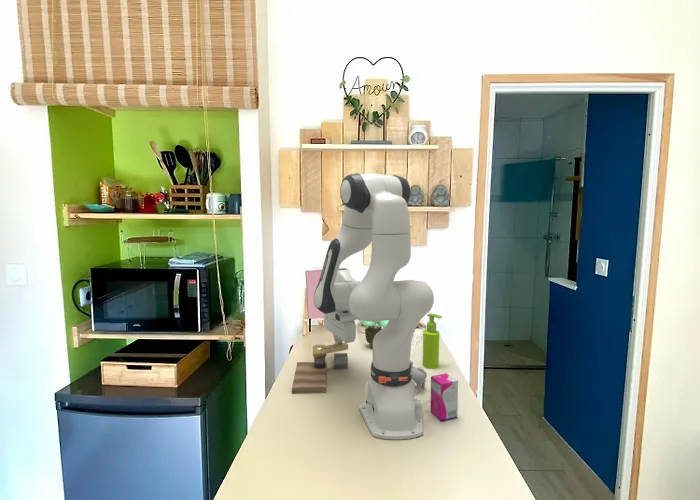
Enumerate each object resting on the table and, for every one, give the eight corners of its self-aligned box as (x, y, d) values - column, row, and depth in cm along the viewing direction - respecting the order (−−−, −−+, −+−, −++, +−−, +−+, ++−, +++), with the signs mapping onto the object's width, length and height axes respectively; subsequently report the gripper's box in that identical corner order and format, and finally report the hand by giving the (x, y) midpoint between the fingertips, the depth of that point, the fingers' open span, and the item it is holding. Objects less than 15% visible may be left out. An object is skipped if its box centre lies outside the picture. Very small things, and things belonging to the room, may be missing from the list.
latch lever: (315, 358, 142) (315, 350, 142) (310, 353, 146) (310, 346, 146) (349, 351, 148) (349, 344, 148) (343, 347, 153) (343, 339, 152)
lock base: (350, 392, 131) (349, 374, 130) (292, 393, 130) (291, 375, 129) (347, 363, 154) (347, 348, 153) (298, 363, 153) (297, 348, 152)
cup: (362, 349, 167) (362, 330, 166) (367, 342, 174) (367, 325, 173) (380, 351, 165) (380, 332, 164) (383, 344, 172) (384, 326, 171)
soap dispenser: (436, 370, 147) (438, 318, 144) (419, 366, 151) (421, 314, 148) (443, 365, 151) (445, 314, 149) (426, 361, 155) (428, 311, 153)
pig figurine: (394, 378, 141) (395, 349, 139) (428, 388, 133) (429, 357, 132) (387, 384, 137) (387, 354, 135) (421, 394, 129) (422, 363, 128)
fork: (407, 354, 164) (407, 350, 164) (414, 337, 183) (414, 333, 182) (415, 355, 163) (415, 351, 163) (422, 337, 182) (422, 333, 181)
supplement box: (445, 408, 121) (447, 372, 119) (457, 418, 115) (459, 380, 114) (429, 412, 119) (430, 375, 117) (440, 422, 113) (442, 384, 112)
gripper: (319, 304, 157) (319, 338, 159) (343, 319, 139) (343, 357, 141) (334, 302, 160) (334, 335, 162) (359, 316, 142) (358, 354, 144)
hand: (338, 346), depth 151 cm, fingers closed
